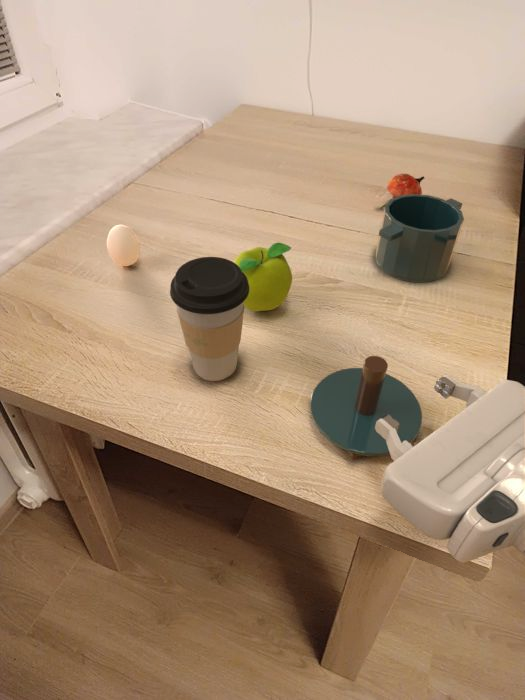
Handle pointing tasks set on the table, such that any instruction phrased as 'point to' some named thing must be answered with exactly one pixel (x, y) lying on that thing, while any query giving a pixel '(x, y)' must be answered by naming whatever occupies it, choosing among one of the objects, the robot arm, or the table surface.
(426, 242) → the pot
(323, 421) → the lid
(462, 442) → the robot arm
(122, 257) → the egg
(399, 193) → the pomegranate
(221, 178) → the table surface
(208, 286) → the coffee cup
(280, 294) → the fruit
